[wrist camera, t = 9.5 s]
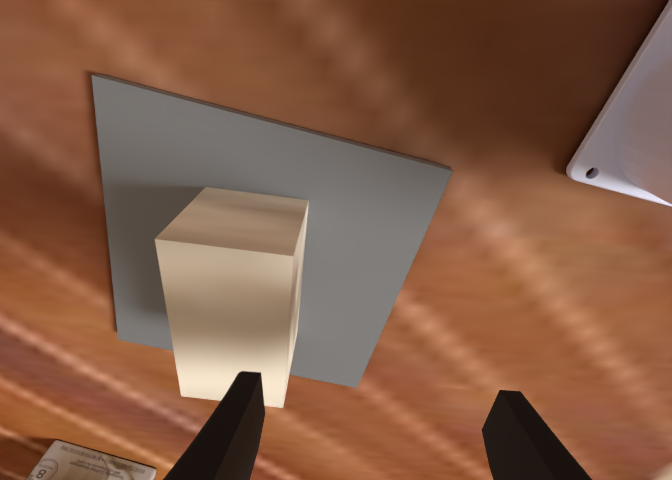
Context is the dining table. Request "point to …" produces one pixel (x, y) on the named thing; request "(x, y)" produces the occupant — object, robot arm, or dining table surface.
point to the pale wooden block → (233, 289)
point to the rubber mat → (270, 179)
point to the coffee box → (86, 465)
